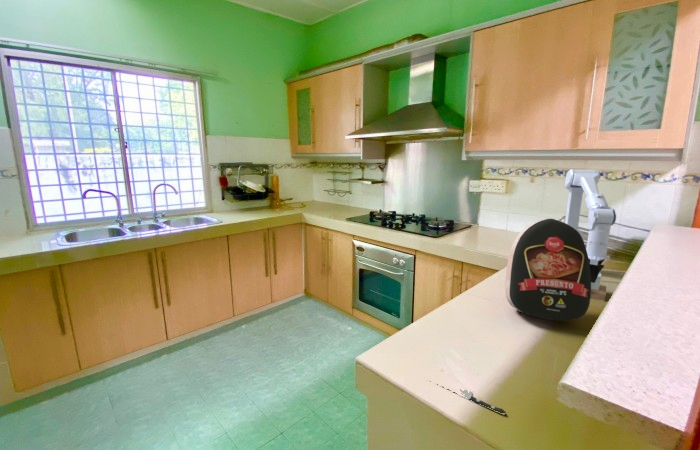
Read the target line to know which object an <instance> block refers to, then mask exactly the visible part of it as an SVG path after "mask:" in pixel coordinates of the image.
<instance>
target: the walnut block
mask: <svg viewBox="0 0 700 450" xmlns="http://www.w3.org/2000/svg"><path fill="white" fill-rule="evenodd" d="M606 296H607V285H602V284H600V286H599V291H598V290H593V289H591V297H590V299H593V300H597V301H601V300H604V301H603V302H605V301H606Z"/></svg>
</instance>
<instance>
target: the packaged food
mask: <svg viewBox="0 0 700 450" xmlns="http://www.w3.org/2000/svg"><path fill="white" fill-rule="evenodd" d="M586 247H587V246H586V245H585V240H584V241H583V239H582V237H581V235H580V234H579V232H578V231H577V230H576V229H574V228H573V227H571V226H570V225H568V224H566V223H565V222H564V221H560V220H558V219H555V218H544V219H541V220H537V221H535V222H533V223H531V224H529V225H528V226H527V227H525V228H524V229H523V230H521V231H520V232H519V233H518V235H517V236H516V238H515V240H514V241H513V243H512V246H511V248H510V251H509V255H508V259H507V265H506V274H505V289H504V294H505V298H506V301H507V302H508V304H509V305H510V306H511V307H512V308H514V309H515V310H518V311H519V312H521V313H523V314H526V315H528V316H531V317H536V318H538V319H539V318H540V319H545V320H550V321H556V322H557V321H574V320H577V319H578V320H579V319H580V318H582V317H584V316H585V314H586V313H587V312H588V310H589V308H590V303H591V298H590V297H591V275H590V268H589V259H588V254H587V251H586Z"/></svg>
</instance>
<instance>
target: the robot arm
mask: <svg viewBox="0 0 700 450" xmlns="http://www.w3.org/2000/svg"><path fill="white" fill-rule="evenodd" d="M599 180H600V171H599V170H598V169H572V168H571V169H569V170H568V171H567V173H566V175H565V182H564V188H565V189H567V190H568V197H567V205H566V212H565V218H564V223H566V224H568V225H570V226H571V227H573V228H574V229H576V230H577V231H578V232H579V234H580V235H581V237H582V239H583V241H584V242H585V240H584V237H585V235H584V233H583V231H581V229H579V223H580V222H579V221H580V215H581V207H582V201H583V194H585V196H586V198H585V200H584V201H585V206H586V208H587V210H588V214H587V223H588V225H587V228H588V229H589V231H588V235H587V241H586V246H585V247H586V251H587V254H588V259H589V268H590V275H591V282H592V283H595V281H596V279H597V277H598V274H599V273H601V271H602V270H603V269H604V267H605V264H603V263H604V261H606V259H607V260H609V259H610V258H611V255H607V251H608V245H609V239H610V233H611V228H612V227H611V226H614V225H615V223H616V221H617V212H616V209H615V208H613V207H611V206H609V204H608V202H607V199H606V197H605V195H604V194H602V193H600V191H599V188H598V183H599V182H600V181H599Z"/></svg>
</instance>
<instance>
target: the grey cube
mask: <svg viewBox="0 0 700 450" xmlns="http://www.w3.org/2000/svg"><path fill="white" fill-rule="evenodd" d="M601 278H602V273H601V272H599V274H598V277H597V279H596V281H595V283H592V282H591V289H593V290H598V291H599V286H600V285H601Z"/></svg>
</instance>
